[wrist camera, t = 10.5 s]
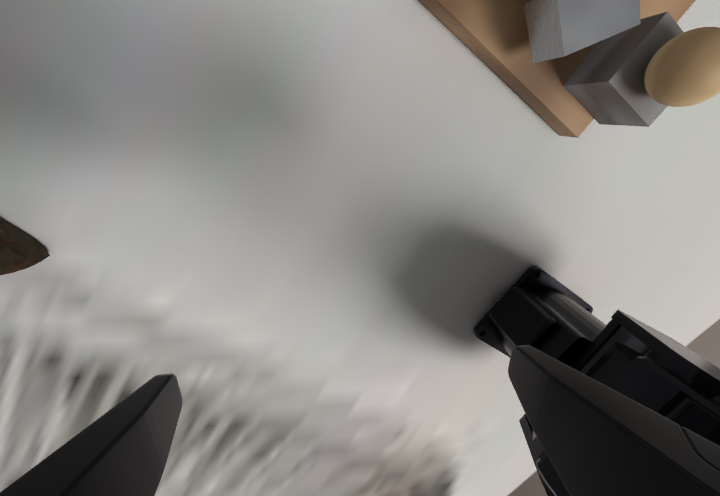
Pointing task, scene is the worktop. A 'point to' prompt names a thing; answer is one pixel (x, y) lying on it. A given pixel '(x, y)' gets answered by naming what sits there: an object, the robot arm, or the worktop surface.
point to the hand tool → (18, 249)
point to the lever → (575, 24)
